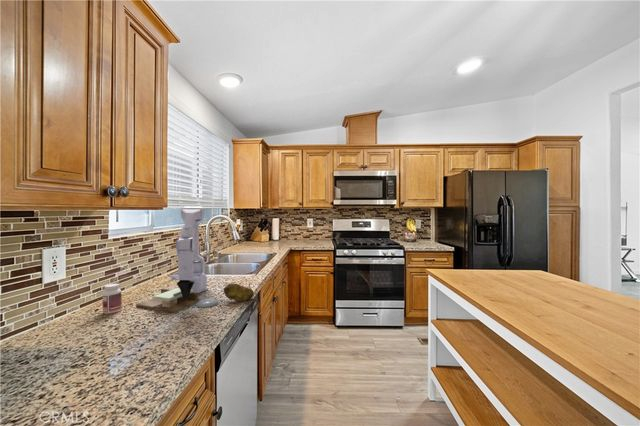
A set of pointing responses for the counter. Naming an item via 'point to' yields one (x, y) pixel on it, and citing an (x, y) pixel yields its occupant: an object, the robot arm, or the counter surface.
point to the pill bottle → (112, 299)
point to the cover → (170, 295)
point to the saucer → (206, 303)
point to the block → (169, 303)
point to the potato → (238, 292)
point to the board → (180, 304)
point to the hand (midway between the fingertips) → (186, 297)
